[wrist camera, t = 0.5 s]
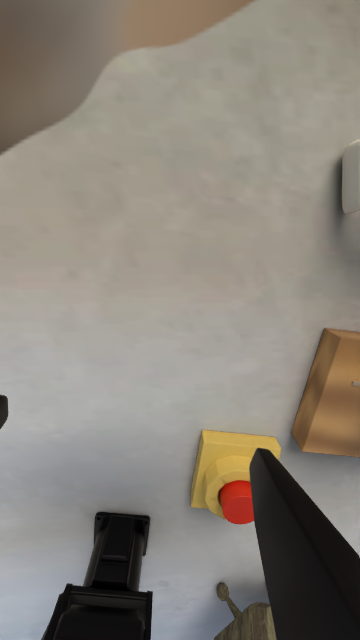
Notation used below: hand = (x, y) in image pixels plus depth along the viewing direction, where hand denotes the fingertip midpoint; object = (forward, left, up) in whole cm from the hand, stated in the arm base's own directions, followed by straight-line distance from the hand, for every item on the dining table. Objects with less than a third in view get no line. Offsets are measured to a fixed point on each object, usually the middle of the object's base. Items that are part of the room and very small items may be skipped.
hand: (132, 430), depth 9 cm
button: (-16, -10, -11) cm, 22 cm away
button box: (-16, -10, -14) cm, 24 cm away
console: (-5, -20, -14) cm, 25 cm away
